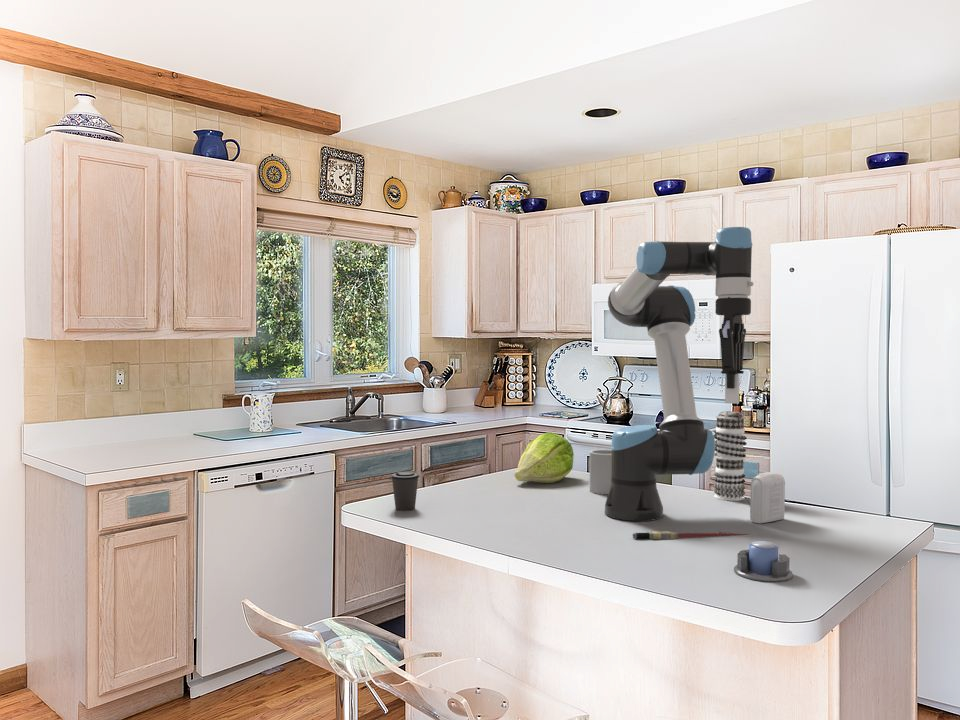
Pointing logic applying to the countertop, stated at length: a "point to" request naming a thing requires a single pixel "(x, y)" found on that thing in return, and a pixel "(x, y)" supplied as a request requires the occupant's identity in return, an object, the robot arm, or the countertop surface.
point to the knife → (678, 535)
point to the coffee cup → (405, 490)
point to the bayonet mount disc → (778, 575)
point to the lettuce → (545, 459)
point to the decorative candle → (729, 456)
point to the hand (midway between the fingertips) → (732, 402)
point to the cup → (600, 471)
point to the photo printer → (767, 497)
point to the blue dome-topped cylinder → (762, 557)
